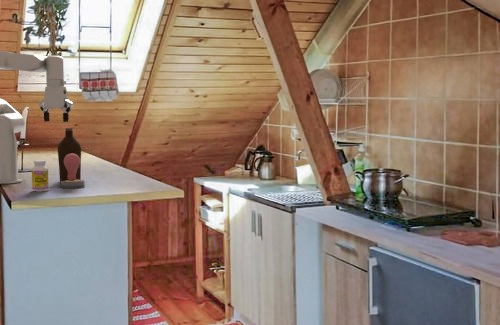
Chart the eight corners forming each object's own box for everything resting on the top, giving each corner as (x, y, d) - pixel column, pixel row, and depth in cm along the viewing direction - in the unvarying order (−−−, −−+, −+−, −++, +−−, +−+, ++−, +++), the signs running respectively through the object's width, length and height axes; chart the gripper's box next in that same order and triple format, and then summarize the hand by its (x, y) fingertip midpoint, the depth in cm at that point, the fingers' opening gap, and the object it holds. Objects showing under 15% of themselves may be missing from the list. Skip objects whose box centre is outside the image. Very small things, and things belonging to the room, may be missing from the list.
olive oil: (70, 183, 295) (69, 129, 292) (53, 181, 300) (52, 128, 297) (86, 180, 305) (85, 127, 302) (69, 179, 309) (68, 127, 307)
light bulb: (84, 180, 286) (83, 153, 285) (70, 181, 280) (69, 154, 279) (74, 178, 290) (73, 152, 289) (60, 180, 285) (60, 153, 284)
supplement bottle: (32, 192, 270) (31, 161, 268) (31, 190, 276) (30, 160, 274) (49, 191, 272) (48, 161, 271) (47, 189, 278) (46, 159, 277)
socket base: (56, 187, 282) (56, 181, 282) (69, 184, 292) (69, 178, 291) (77, 188, 279) (76, 182, 279) (88, 185, 289) (88, 179, 289)
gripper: (76, 83, 292) (77, 121, 294) (43, 83, 296) (44, 120, 298) (67, 83, 285) (68, 122, 286) (33, 83, 289) (34, 121, 291)
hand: (56, 121), depth 292 cm, fingers open, 9 cm apart
